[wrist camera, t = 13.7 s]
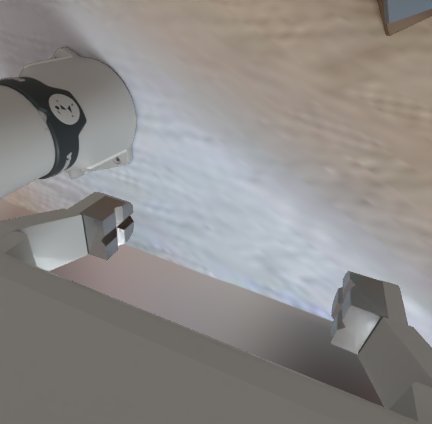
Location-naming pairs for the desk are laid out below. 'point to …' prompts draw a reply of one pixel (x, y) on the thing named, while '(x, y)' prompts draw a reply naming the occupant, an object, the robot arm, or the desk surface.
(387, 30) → the walnut base block
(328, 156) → the desk surface
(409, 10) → the slate-grey upper block
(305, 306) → the desk surface
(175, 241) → the desk surface
